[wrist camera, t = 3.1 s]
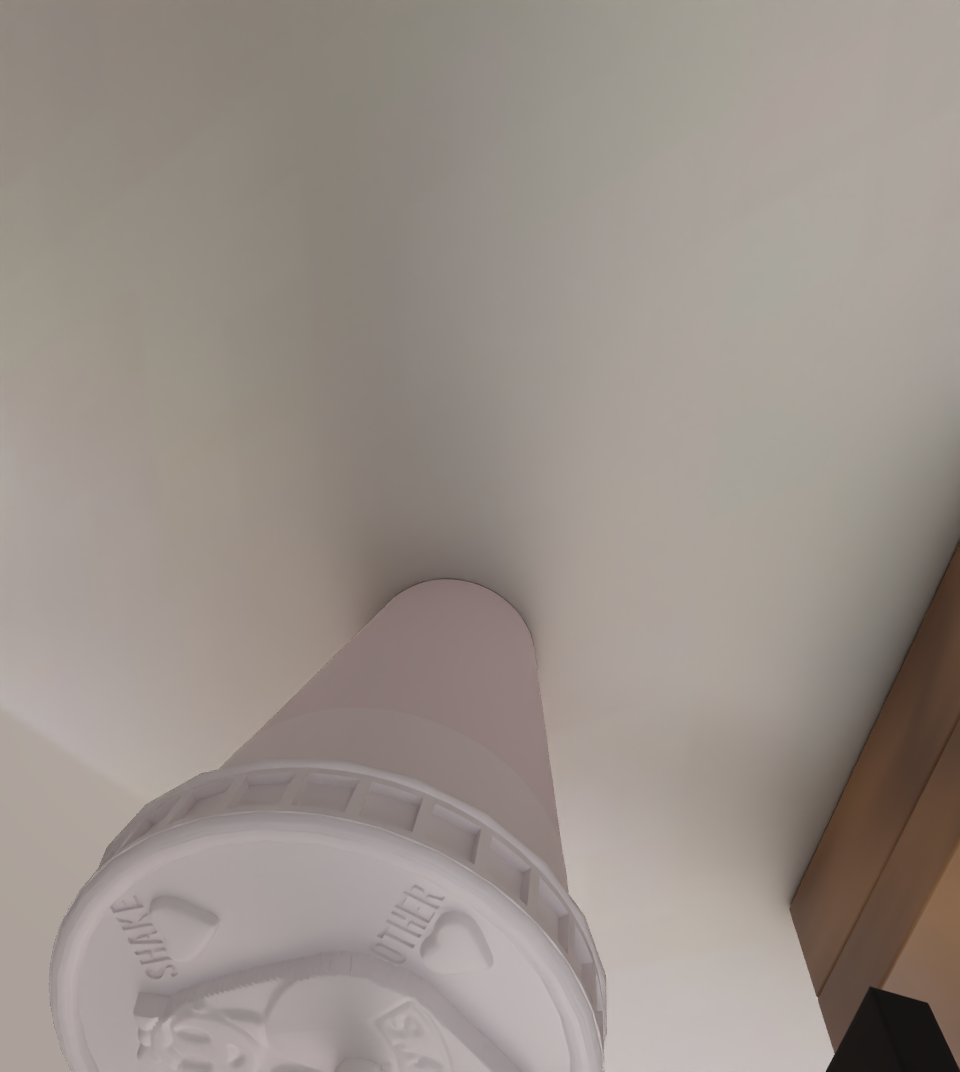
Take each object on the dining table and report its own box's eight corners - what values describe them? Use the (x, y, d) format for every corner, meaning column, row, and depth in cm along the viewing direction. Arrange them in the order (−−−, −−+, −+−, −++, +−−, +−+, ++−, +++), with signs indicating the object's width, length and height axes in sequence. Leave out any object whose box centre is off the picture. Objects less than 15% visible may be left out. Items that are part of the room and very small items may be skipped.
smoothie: (580, 799, 19) (567, 2053, 6) (309, 762, 19) (-275, 1818, 6) (616, 535, 17) (723, 1543, 4) (310, 503, 17) (-562, 1264, 4)
